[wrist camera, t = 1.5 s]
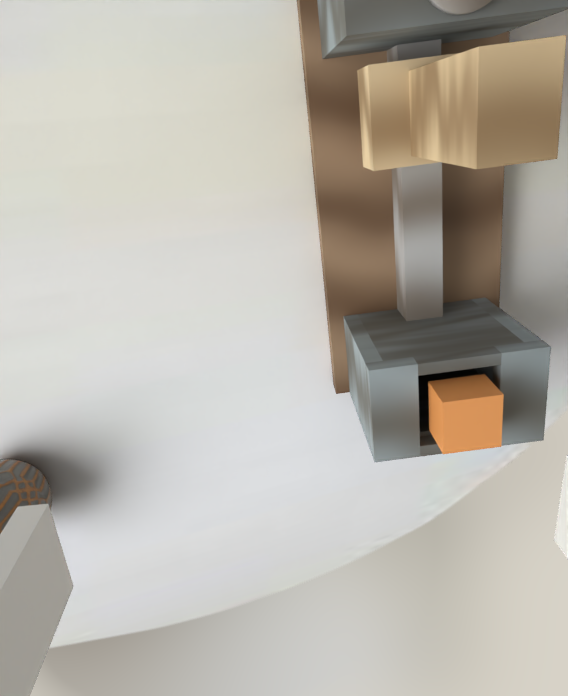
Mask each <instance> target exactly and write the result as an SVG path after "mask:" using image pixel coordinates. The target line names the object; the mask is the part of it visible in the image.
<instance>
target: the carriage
mask: <svg viewBox="0 0 568 696" xmlns="http://www.w3.org/2000/svg"><path fill="white" fill-rule="evenodd" d="M565 46H566V35H563V36H555V37H548V38H540V39H533V40H525V41H518V42H510V43H502V44H495V45H487V46H480V47H476V48H473V49H470V50H468V51H465V52H462V53H455V54H447V55H440V56H432V57H424V58H417V59H409V60H402V61H394V62H387V63H379V64H371V65H367V66H365V67H363V68H361V69H359V70H357V74H358V91H359V107H360V124H361V140H362V157H363V167H365V168H367V169H370V170H372V171H378V170H385V169H393V168H400V167H408V166H416V165H423V164H431V163H438V162H443V163H448V164H453V165H458V166H463V167H468V168H472V169H483V168H490V167H498V166H506V165H513V164H521V163H528V162H536V161H544V160H551V159H557V155H558V142H559V128H560V114H561V100H562V87H563V73H564V59H565Z"/></svg>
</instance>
